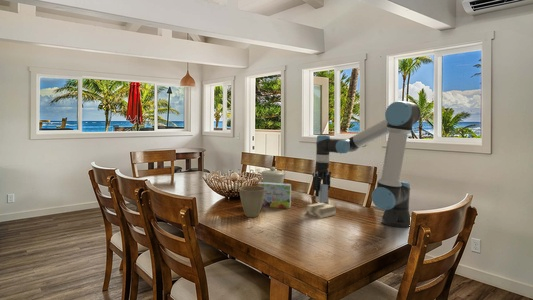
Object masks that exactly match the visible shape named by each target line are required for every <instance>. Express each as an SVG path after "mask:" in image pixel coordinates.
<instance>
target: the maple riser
mask: <svg viewBox="0 0 533 300" xmlns="http://www.w3.org/2000/svg"><path fill="white" fill-rule="evenodd" d="M336 210H337V206H336V205H332V204H329V203H326V202H324V203H320V202H316V203H310V204H307V205H306V214H307V215H310V216H314V217H318V218H321V219H323V218H327V217H331V216H332V217H333V216H336V215H337V214H336V212H337V211H336Z"/></svg>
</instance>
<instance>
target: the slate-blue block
mask: <svg viewBox="0 0 533 300" xmlns="http://www.w3.org/2000/svg"><path fill="white" fill-rule="evenodd" d="M317 189H318V188H317ZM319 191H320V202H319V203H328V202H329V201H328V200H329V198H328V197H329V190H328V185H326V184H323V183H321V185H320V190H319ZM314 201H315V202H316V198H315V200H314Z"/></svg>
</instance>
